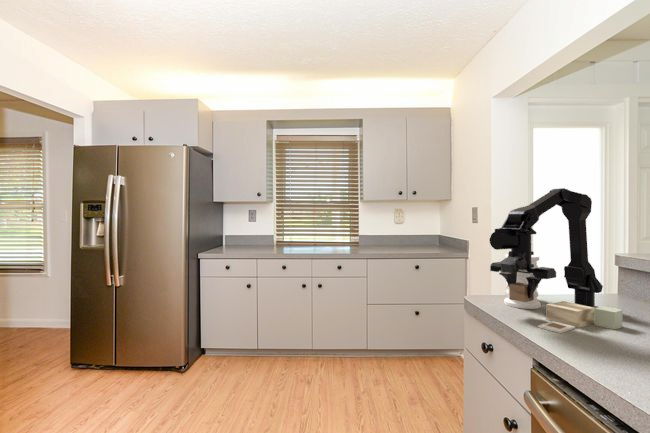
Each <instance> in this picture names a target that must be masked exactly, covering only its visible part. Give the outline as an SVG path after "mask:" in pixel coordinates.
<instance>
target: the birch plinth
mask: <svg viewBox="0 0 650 433" xmlns="http://www.w3.org/2000/svg"><path fill="white" fill-rule="evenodd" d="M545 307H546V308H545V314H546V316H545V317H546V318H545V320H547V321H549V322H552V321H554V322H558V323H562V324H567V325H571V326H575V329H576V328H578V329H579V328H581V327H586V326H591V325H593V324H594V325H595V308H594V307H589V306H584V305H579V304H575V302H574V303H573V302H569V301H564V300H563V301H558V302H553V303H547V304H546V305H545Z"/></svg>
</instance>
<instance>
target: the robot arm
mask: <svg viewBox="0 0 650 433" xmlns="http://www.w3.org/2000/svg"><path fill="white" fill-rule="evenodd" d="M592 201H593V200H592V198H591V197H589V195H588V194H584V193H582V192H581V193H580V192H575V191H571V190H569V189H567V188H561V187H560V188H552V189H551V190H549V192H547V193H546V194H544V195H543V196H540V197H539V198H537V199H536V200H535V201H532V202H531V203H529V204H528V205H526V206H521V207H517V208H515V209H512V210H510V211H509V212H508V215H507V217H506V218H505V220H504V222H503V224H502V225H501V227H495V228H494V232H492V233H491V235H490V238H489V245H490V247H492V249H494V250H496V251H498V250H510V251H508V253H507V254H508V257H507V258H504V259H502V260H501V261H495V262H492V263H491V264H490V267H489V270H490V272H496V273H498V275H500V276H502V277H503V278H504V279H505V282H506V281H507V283H508V286H509V284H511V283H516V280H517V272H520V273H527V274H530V277H526V279H527V281H528V298H531V297H532V295H533V293H534V291H535V289H536V287H537V286H538V287H539V284H540V282H541V281H542V280H548V279H549V280H550V279H554V278H555V279H556V278H557V271H556V270H555V268H553V267H545V266H540V267H539V266H538V268H535V269H534V268H533V267H534V264H531V255H535V252H534V251H532V235H536V234H537V231H536V230H534V229H533V228H532V227H533V226H535V224H537V223H538V221H539V219H540V217H541V215H544V214H545V213H546V212H547V211H549V210H552V208H554V207H556V206H558V207H561V211H562V212H561V213H562V214H563V215H564V217H565V219H567V221H568V238H569V256H570V261H569V263H568V265H565V266H564V267H563V271H564V276H563V277H564V278H565V282H566V285H567V288H568V289H570V290H571V289H572V290H574V303H575V304H579V305H584V306H589V307H594V308H598V307H599V306H598V305H596V304H595V302H596V300H595V299H596V296H595V294H600V293H602V291H603V287H604V286H603V285H602V284H601V282H600V281H599V279H598V278H597V276H596V270H595V269H594V266H592V264H591V263H590V262H589V252H588V235H587V233H588V232H587V219H588V217H589V216H590V214H591V212H592V204H593V202H592Z"/></svg>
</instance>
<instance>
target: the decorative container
mask: <svg viewBox="0 0 650 433" xmlns="http://www.w3.org/2000/svg"><path fill="white" fill-rule="evenodd" d="M504 256H505V258H507V257H508V253H506V254H505V255H504ZM505 258H504V259H505ZM539 261H540V256H539V255H537V254H534V255H531V264H534V267H533V268H534V269H535V268H539V266H538V265H537V264H538V262H539ZM526 277H530V274H527V273H520V272H517V280H516V283H517V282H520V283H526V284H528V281H527V279H526ZM505 283H506V292H507V294H508V297H507V296H506V298H504V305H506V306H508V307H511V308H512V307H513V308H517V309H523V310H536V309H537V310H538V309H541V307H542V306H541V302H540V301H539V300H537V298H538V297H539V292H538V288H539V285H538V286H537V287H536V289H535V291H534V300H532V301H528V302H521V301H516V300H512V299H509V286H508V283H507V282H506V281H505ZM506 292H505V293H506Z"/></svg>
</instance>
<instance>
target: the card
mask: <svg viewBox="0 0 650 433" xmlns="http://www.w3.org/2000/svg"><path fill="white" fill-rule="evenodd" d="M538 328H540V329H543V330H547V331H551V332H554V333H559V334H563V333H565V332H567V331H571V330H575V329H576V327H575V326H571V325H567V324H562V323H558V322H554V321H549V322H546V323H542V324H539V325H538Z"/></svg>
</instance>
